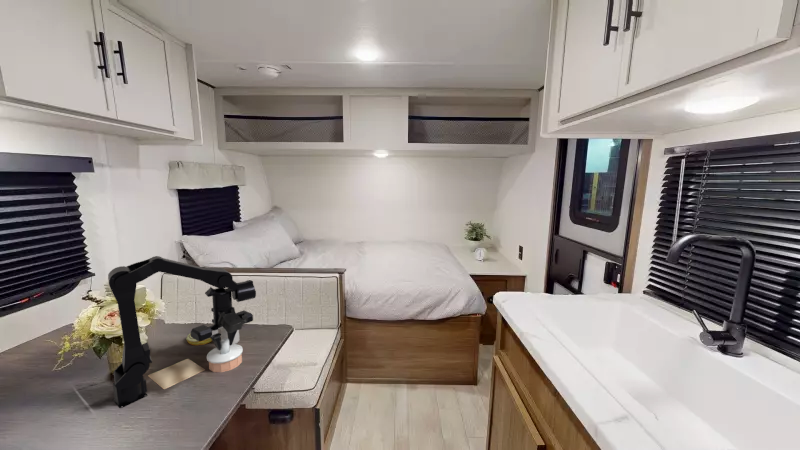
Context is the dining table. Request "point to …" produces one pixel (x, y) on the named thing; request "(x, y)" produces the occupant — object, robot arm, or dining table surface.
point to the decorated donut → (195, 342)
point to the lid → (224, 352)
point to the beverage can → (225, 335)
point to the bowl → (225, 365)
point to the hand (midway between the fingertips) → (224, 347)
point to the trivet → (175, 373)
